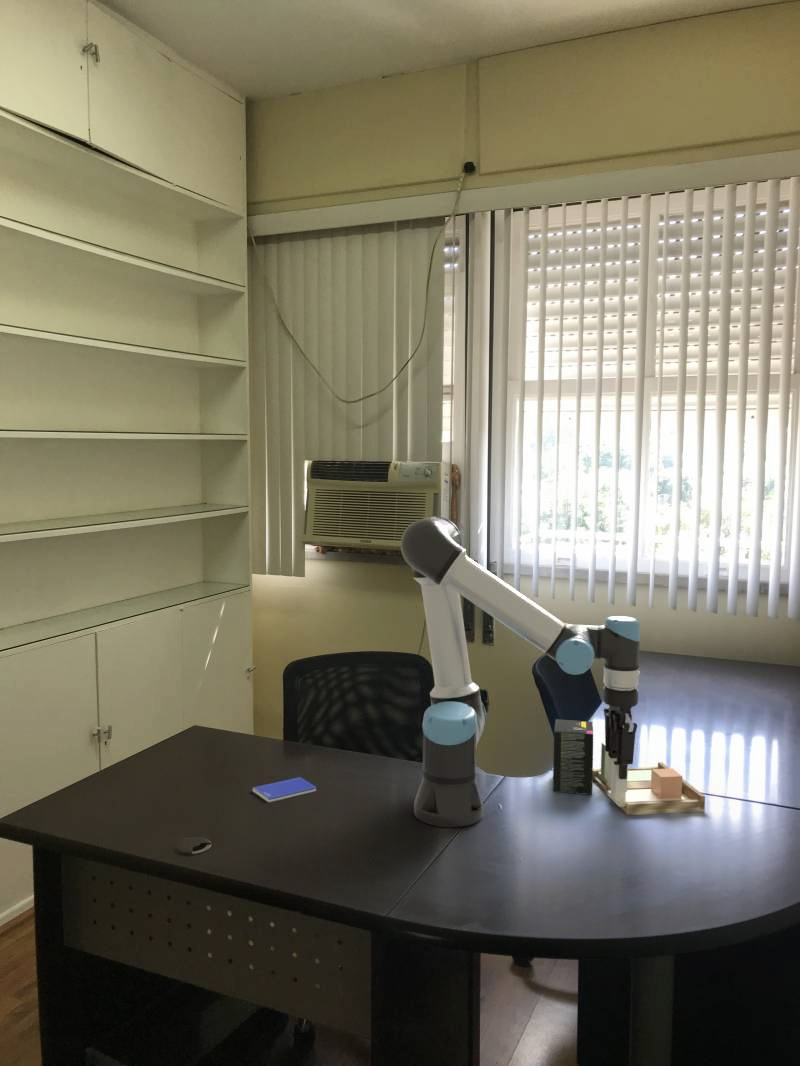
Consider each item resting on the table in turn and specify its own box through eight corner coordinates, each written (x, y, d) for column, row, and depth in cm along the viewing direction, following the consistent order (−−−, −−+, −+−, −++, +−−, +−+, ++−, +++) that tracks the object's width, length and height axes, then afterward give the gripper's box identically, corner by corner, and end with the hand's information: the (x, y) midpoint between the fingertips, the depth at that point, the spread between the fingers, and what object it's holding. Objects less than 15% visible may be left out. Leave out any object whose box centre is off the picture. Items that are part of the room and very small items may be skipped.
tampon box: (592, 795, 199) (594, 734, 198) (552, 792, 201) (553, 731, 200) (591, 779, 210) (593, 720, 209) (553, 775, 212) (554, 717, 210)
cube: (660, 798, 191) (661, 777, 191) (650, 790, 196) (651, 769, 196) (681, 797, 192) (682, 776, 192) (671, 789, 197) (672, 768, 197)
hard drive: (268, 798, 193) (316, 786, 200) (252, 786, 199) (299, 776, 207) (268, 804, 193) (316, 793, 200) (252, 793, 199) (299, 782, 207)
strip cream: (618, 806, 189) (619, 767, 189) (606, 795, 196) (607, 756, 195) (685, 803, 191) (687, 764, 191) (672, 792, 198) (673, 754, 197)
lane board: (627, 815, 188) (627, 799, 188) (591, 778, 210) (591, 764, 209) (704, 811, 190) (705, 796, 190) (661, 776, 212) (661, 762, 212)
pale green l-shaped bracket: (607, 786, 201) (608, 748, 201) (597, 775, 208) (598, 739, 207) (671, 783, 204) (672, 746, 203) (658, 773, 210) (660, 737, 210)
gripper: (651, 695, 184) (648, 801, 185) (623, 677, 199) (620, 776, 201) (618, 696, 183) (615, 803, 184) (592, 678, 198) (589, 777, 200)
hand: (617, 788), depth 193 cm, fingers closed on strip cream, 2 cm apart
